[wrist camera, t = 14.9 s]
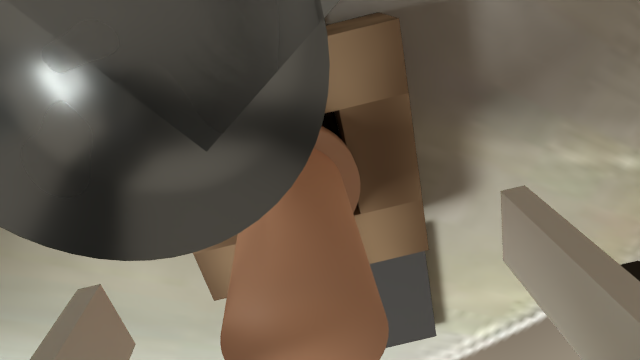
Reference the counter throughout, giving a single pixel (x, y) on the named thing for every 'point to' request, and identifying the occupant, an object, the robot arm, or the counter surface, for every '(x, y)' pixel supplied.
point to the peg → (306, 272)
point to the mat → (405, 297)
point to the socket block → (363, 144)
